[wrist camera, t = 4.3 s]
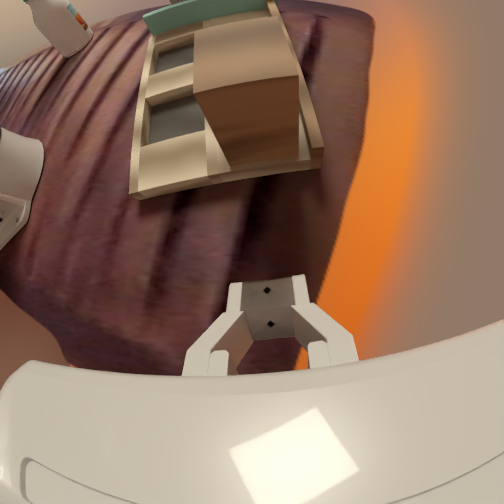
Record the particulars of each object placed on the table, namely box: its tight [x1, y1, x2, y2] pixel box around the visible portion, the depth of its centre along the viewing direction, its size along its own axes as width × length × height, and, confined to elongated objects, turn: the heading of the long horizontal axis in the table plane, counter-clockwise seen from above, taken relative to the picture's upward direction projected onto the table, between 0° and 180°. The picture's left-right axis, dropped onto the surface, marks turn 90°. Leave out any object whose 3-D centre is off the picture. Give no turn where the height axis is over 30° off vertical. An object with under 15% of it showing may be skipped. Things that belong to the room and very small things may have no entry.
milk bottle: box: [23, 0, 93, 57], centre depth 26 cm, size 8×8×20 cm
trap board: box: [129, 0, 324, 200], centre depth 26 cm, size 26×18×4 cm
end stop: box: [143, 0, 278, 36], centre depth 27 cm, size 1×18×6 cm, turn 96°
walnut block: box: [193, 16, 299, 166], centre depth 19 cm, size 7×6×10 cm
